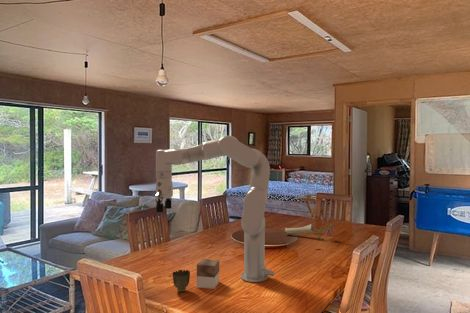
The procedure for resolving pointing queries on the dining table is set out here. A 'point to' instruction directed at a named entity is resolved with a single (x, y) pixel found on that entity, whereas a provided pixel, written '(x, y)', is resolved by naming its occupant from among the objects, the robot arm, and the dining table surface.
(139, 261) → the dining table surface
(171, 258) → the dining table surface
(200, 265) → the walnut block
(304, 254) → the dining table surface
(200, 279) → the cream block
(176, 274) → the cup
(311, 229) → the flower vase
